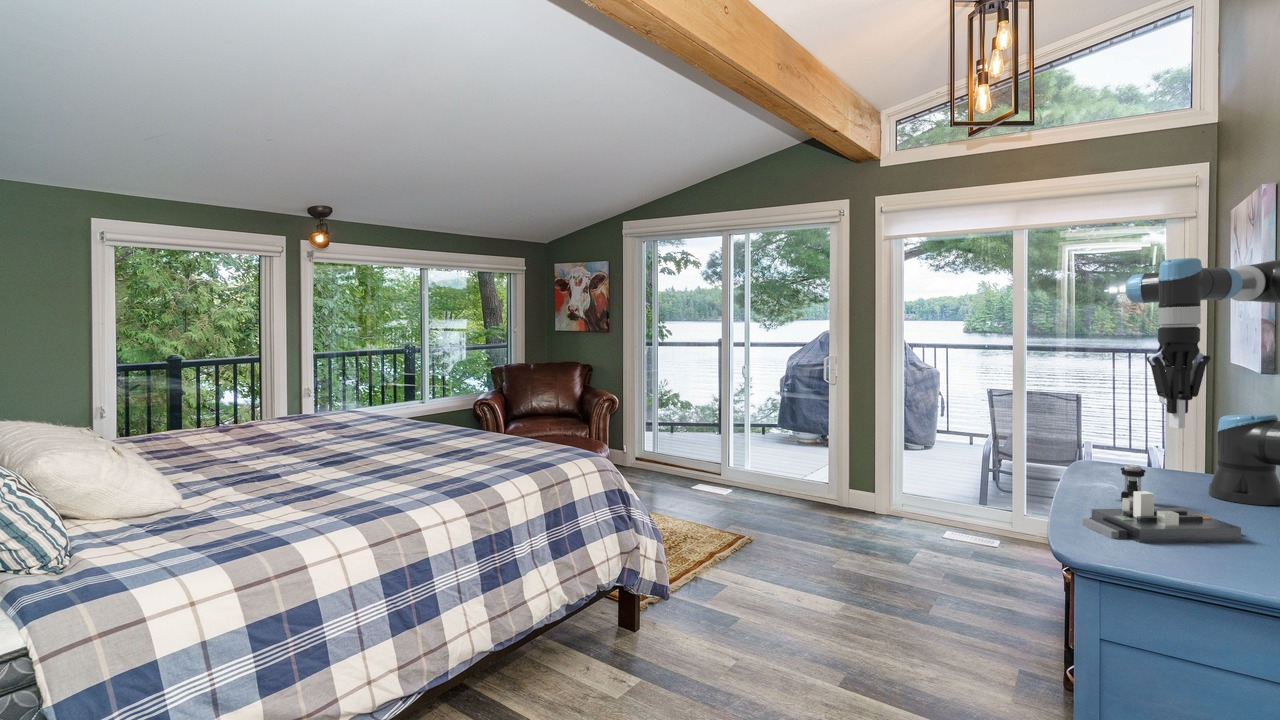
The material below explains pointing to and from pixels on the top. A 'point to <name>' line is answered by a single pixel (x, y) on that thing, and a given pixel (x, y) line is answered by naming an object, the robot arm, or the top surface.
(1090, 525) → the narrow gray bar
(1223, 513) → the top surface
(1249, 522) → the top surface
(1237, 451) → the robot arm
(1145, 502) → the lever
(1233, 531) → the panel
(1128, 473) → the push button
